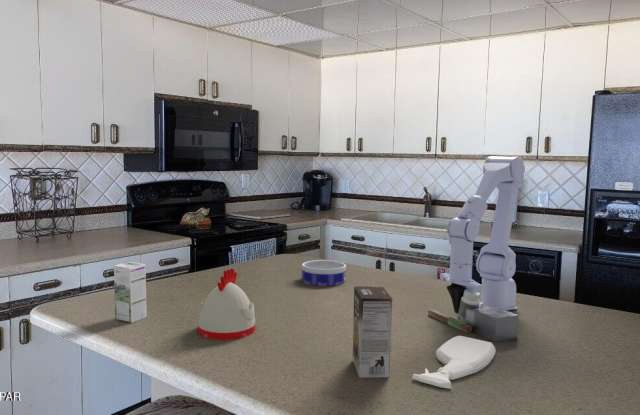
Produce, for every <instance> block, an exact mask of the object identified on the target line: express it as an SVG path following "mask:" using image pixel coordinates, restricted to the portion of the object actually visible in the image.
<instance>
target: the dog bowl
mask: <svg viewBox="0 0 640 415" xmlns="http://www.w3.org/2000/svg"><path fill="white" fill-rule="evenodd" d="M346 273H347V264H345V263H344V262H341V261H336V260H330V259H329V260H328V259H315V260H314V259H313V260H309V261H305V262H302V264H301V280H302V282H303V283H304V284H306V285H309V284H310V285H309V286H315V285H316V287H333V286H335V285H336V286H340V284H341V285H343V284H345V283H346V276H347V274H346Z"/></svg>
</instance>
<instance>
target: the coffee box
mask: <svg viewBox="0 0 640 415" xmlns="http://www.w3.org/2000/svg"><path fill="white" fill-rule="evenodd" d="M392 320H393V298H392V297H391V295H390V294H389V293H388V291H387V290H386V289H385V288H384V287H383V286H367V285H366V286H362V285H361V286H354V287H353V324H352V326H353V327H352V329H353V332H352V334H353V335H352V336H353V337H352V362H353V365H354V367H355V370H356V373H357V375H358V378H362V379H363V378H364V379H365V378H390V371H391V370H390V368H391V365H390V364H391V346H392V344H391V343H392V323H393V321H392Z"/></svg>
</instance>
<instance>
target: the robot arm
mask: <svg viewBox="0 0 640 415" xmlns="http://www.w3.org/2000/svg"><path fill="white" fill-rule="evenodd" d="M525 170H526V168H525V163H524V161H523V159H522V157H520V156H492V155H491V156H487V158H486V159H485V161H484V162H483V165H482V174H483V175H482V178H481V179H480V182H479V184H478V187H477V189H476V191H475V193H474V194H473V195H470V196H469V197H468V198H467V199H466V201H465V202H464V204H463V206H462V207H461V209H460V211H459V213H458V214H457V217H454V218H452V219H450V221H449V222H448V225H447V228H446V234H447V236H448V244H449V245H450V255H449V256H450V261H449V273H448V272H443V273H440V275H439V276H440V277H439V278H440V279H439V280H440V281H442V282H447V283H449V284H450V285H447V286H446V290H447V291H448V294H449V296H450V298H451V302H452V307H453V311H454V313H455V314H458V312H459V307H460V302H461V298H462V297H463V296H464V291H465V290H466V289H470V290H472V291H473V292H475V293H477V292H479V293H480V303H483V307H486V306H488V307H498V308H501V309H503V310H506V311H511V310H517V309H518V306H516V299H517V298H516V296H517V284H516V281H515V280H514V279H513V278H512V277H513V276H514V275H515V273H516V268H517V265H516V256H517V255H516V253H515V251H513V249H511V247H510V246H509V243H510V242H509V241H510V236H511V230H512V226H513V225H512V224H513V220H514V213H515V208H516V203H517V197H518V190H519V188H522V187H523V186H522V185H523V181H524V176H525ZM496 188H497V190H498V192H497V193H498V194H497V199H496V204H495V212H494V215H493V222H492V227H491V233H490V239H489V242H488V243H487V244H485V245H483V247H481V248H480V252H479V254H478V257H477V258H476V262H475V267H476V271H477V273H479V277H481V284H480V283H479V282H477V281H476V280H474V279H472V278H473V277H472V275H473V253H474V241H475V240H476V239H477V237H478V236H479V233H480V232H479V231H480V226H481V221H482V218H483V217H484V215H485V212H486V211H487V209H488V203H487V201H488V200H489V198H490V197H491V195H492V193H493V192H494V190H495V189H496ZM479 307H480V304H479Z"/></svg>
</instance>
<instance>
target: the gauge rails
mask: <svg viewBox="0 0 640 415" xmlns="http://www.w3.org/2000/svg"><path fill="white" fill-rule="evenodd" d="M427 310H428V311H427V313H428V316H429V317H432V318H434V319H436V320H438V321H440V322H442V323H445V324H447V325H448V326H451V327H454V328H455V329H457V330H459V331H462V332H464V333H466V334H470V333H472V332H473V331H472V326H470V325H467V324H465V323H463V322H461V321H458V319H456V318H454V317H452V316H449V315H448V314H446V313H445V314H444V313H442V312H441V311H438V310H436V309H433V308H432V309H427Z"/></svg>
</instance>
